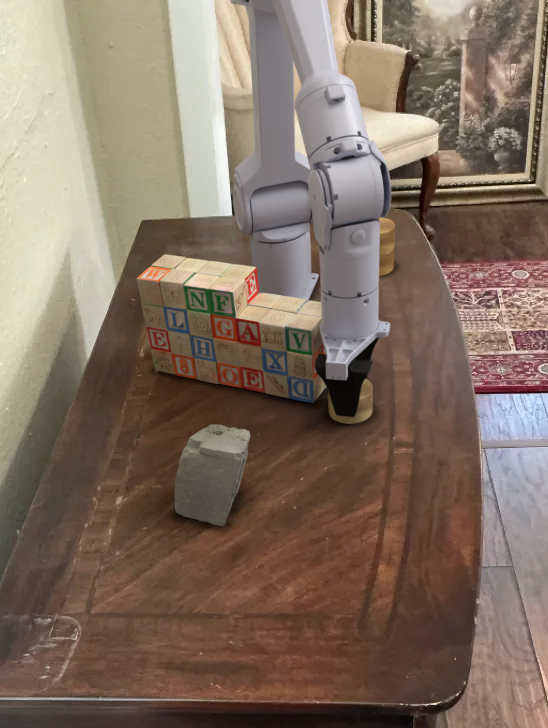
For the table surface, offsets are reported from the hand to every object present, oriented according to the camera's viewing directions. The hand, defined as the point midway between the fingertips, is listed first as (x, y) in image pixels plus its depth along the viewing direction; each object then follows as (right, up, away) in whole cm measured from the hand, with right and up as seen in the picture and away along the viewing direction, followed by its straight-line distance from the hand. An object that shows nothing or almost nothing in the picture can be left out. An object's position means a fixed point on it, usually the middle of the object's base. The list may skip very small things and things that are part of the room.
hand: (350, 400), depth 94 cm
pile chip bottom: (+6, +22, +25) cm, 34 cm away
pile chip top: (+6, +25, +23) cm, 34 cm away
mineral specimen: (-14, -11, -8) cm, 20 cm away
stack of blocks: (-12, +4, +9) cm, 15 cm away
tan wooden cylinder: (0, -1, +1) cm, 1 cm away
